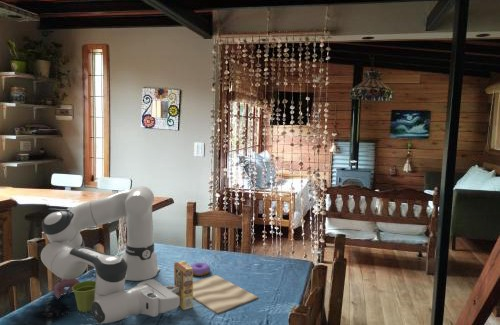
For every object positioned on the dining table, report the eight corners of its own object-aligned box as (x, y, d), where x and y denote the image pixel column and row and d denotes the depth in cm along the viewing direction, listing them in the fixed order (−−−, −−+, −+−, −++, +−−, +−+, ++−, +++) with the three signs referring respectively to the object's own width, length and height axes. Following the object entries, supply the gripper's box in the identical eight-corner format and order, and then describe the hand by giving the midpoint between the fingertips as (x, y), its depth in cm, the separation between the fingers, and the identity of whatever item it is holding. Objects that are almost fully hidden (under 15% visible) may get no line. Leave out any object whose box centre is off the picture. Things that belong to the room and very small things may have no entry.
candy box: (193, 307, 142) (193, 267, 140) (182, 310, 139) (183, 270, 138) (183, 298, 149) (184, 260, 147) (173, 301, 147) (173, 262, 145)
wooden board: (176, 288, 158) (176, 286, 158) (215, 276, 171) (215, 274, 171) (217, 314, 137) (217, 312, 137) (258, 298, 151) (258, 296, 151)
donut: (189, 267, 180) (192, 258, 179) (209, 272, 180) (211, 262, 180) (186, 276, 170) (189, 265, 170) (207, 280, 170) (209, 270, 170)
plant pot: (72, 317, 133) (71, 293, 132) (72, 305, 142) (72, 282, 141) (101, 312, 137) (100, 289, 136) (99, 301, 145) (99, 279, 144)
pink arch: (80, 294, 154) (76, 276, 156) (84, 292, 151) (80, 274, 153) (54, 301, 147) (50, 283, 149) (57, 300, 144) (54, 281, 146)
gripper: (129, 296, 140) (163, 287, 149) (156, 319, 125) (192, 306, 134) (129, 280, 140) (163, 271, 149) (156, 300, 124) (192, 289, 134)
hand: (177, 288), depth 141 cm, fingers closed
